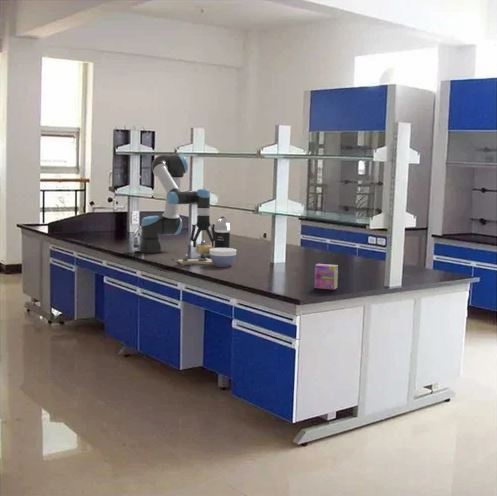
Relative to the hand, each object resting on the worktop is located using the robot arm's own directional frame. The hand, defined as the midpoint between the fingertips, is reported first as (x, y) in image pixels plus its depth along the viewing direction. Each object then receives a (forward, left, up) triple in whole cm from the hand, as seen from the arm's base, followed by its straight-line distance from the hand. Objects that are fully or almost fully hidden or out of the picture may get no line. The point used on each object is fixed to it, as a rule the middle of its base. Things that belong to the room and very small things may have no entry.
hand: (203, 252), depth 429 cm
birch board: (0, -4, -6) cm, 7 cm away
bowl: (+14, +8, -6) cm, 17 cm away
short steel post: (0, -11, -5) cm, 12 cm away
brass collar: (0, 0, 0) cm, 0 cm away
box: (+92, +37, -6) cm, 99 cm away
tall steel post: (0, 0, -5) cm, 5 cm away
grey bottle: (-27, +21, -6) cm, 35 cm away
